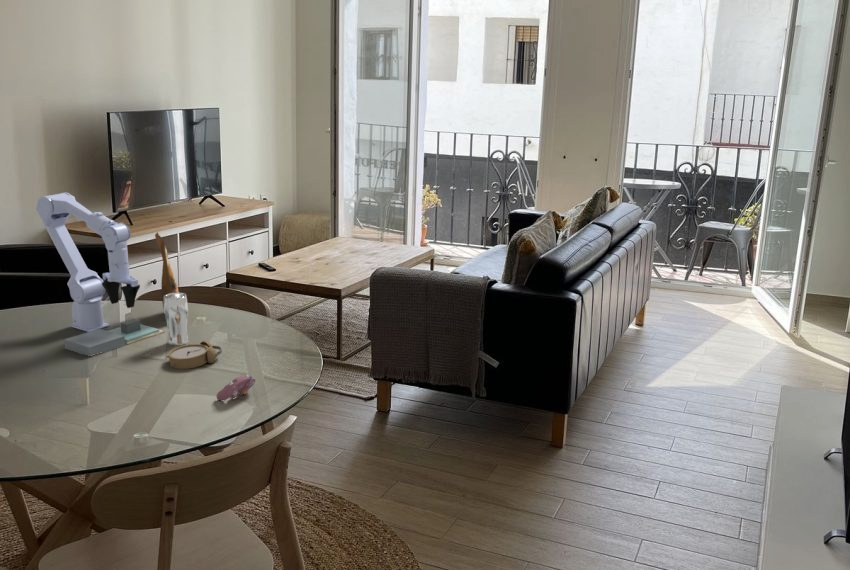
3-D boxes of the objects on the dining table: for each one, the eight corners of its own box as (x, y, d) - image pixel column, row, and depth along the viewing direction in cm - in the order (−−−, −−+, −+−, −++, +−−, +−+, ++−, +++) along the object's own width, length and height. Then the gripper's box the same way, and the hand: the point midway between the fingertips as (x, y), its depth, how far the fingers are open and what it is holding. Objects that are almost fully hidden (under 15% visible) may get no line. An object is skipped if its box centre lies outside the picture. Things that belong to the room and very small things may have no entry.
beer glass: (193, 339, 256) (190, 292, 252) (185, 346, 249) (181, 299, 245) (172, 338, 256) (168, 291, 252) (162, 345, 250) (159, 298, 246)
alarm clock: (164, 349, 239) (214, 333, 244) (168, 365, 240) (218, 348, 246) (171, 362, 229) (223, 345, 235) (175, 378, 231) (227, 361, 236)
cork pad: (98, 335, 258) (98, 334, 258) (135, 324, 269) (135, 323, 269) (127, 344, 250) (127, 343, 250) (164, 332, 262) (164, 331, 262)
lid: (102, 334, 258) (101, 323, 257) (134, 324, 267) (133, 313, 266) (127, 342, 251) (126, 330, 250) (159, 331, 261) (158, 320, 260)
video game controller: (226, 409, 210) (233, 389, 206) (213, 398, 211) (221, 378, 208) (252, 396, 218) (260, 376, 215) (240, 386, 219) (248, 366, 216)
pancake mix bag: (160, 326, 267) (153, 241, 260) (161, 309, 285) (154, 229, 277) (182, 324, 269) (176, 240, 262) (181, 307, 287) (175, 228, 279)
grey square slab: (65, 348, 246) (64, 339, 245) (100, 337, 256) (99, 328, 255) (90, 357, 240) (89, 347, 239) (125, 345, 250) (124, 336, 249)
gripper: (92, 262, 254) (96, 304, 258) (123, 269, 247) (126, 312, 250) (112, 257, 260) (116, 298, 264) (142, 264, 252) (146, 306, 256)
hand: (122, 305), depth 257 cm, fingers open, 7 cm apart
